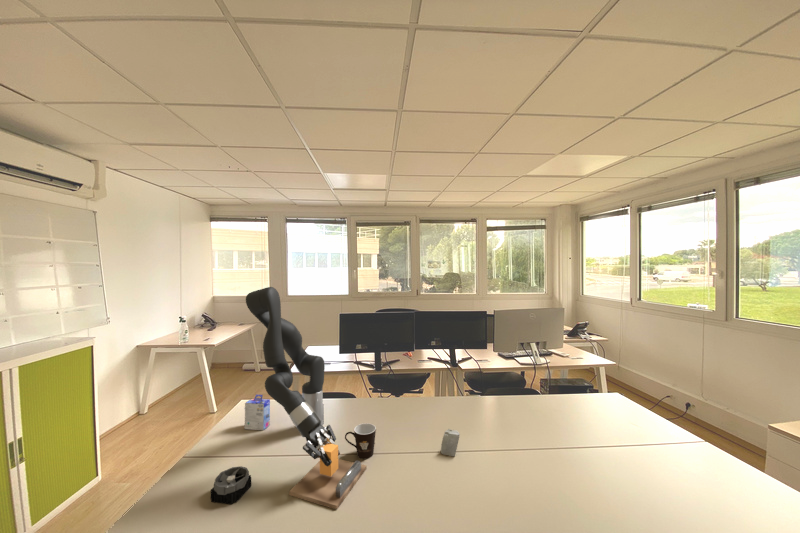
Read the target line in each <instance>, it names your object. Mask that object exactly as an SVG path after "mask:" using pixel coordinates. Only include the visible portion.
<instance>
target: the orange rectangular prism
mask: <svg viewBox="0 0 800 533" xmlns="http://www.w3.org/2000/svg"><path fill="white" fill-rule="evenodd" d="M323 449H324V451H325V453H326V454H327V455H328V457H329V458H330V460H331V461H332V463H331V464H330V465H329V466H326V465H325V464H324V463H323V461H322V460H321V459H320V458H319V461H320V474H323V475H327V476H332V475H333V474H334V473H335V472H336V470H337V469H338V459H339V456H338V450H339V444H331V443H329V442H328V443H327V444H325V445H323Z"/></svg>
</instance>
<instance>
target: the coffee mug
mask: <svg viewBox="0 0 800 533" xmlns="http://www.w3.org/2000/svg"><path fill="white" fill-rule="evenodd" d="M353 431H354V432H352V431H348V432H346V433H345V434H344V435H345V436H344V439H345V441H346V442H347V443H348V444H349V445H350V446H353V447H355V449H356V455H357V457H358V458H359V459H361V460H366V459H370V458H372V457H373V456H374V453H375V452H374V451H375V443H376V442H375V441H376V433H377V432H376V431H377V427H376V425H374V424H373V423H369V422H365V423H364V422H362V423H359V424H358V425H356V426H355V427H354V429H353ZM349 434H351V435H353V437H354V440H355V444H354V443H353V442H351V441H350V440H348V439H347V436H348V435H349Z"/></svg>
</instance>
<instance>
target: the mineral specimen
mask: <svg viewBox="0 0 800 533" xmlns="http://www.w3.org/2000/svg"><path fill="white" fill-rule="evenodd" d="M460 435H461V434H460V432H459V431H458V430H457V429H451V428H448V429H446V430H445V431H444V433H443V436H442V441H441V446H440V453H441V454H442V455H444V456H445V455H446V456H448V457H449V456H450V457H455V456H456V453H457V450H458V445H459V441H460V440H459V439H460Z"/></svg>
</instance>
